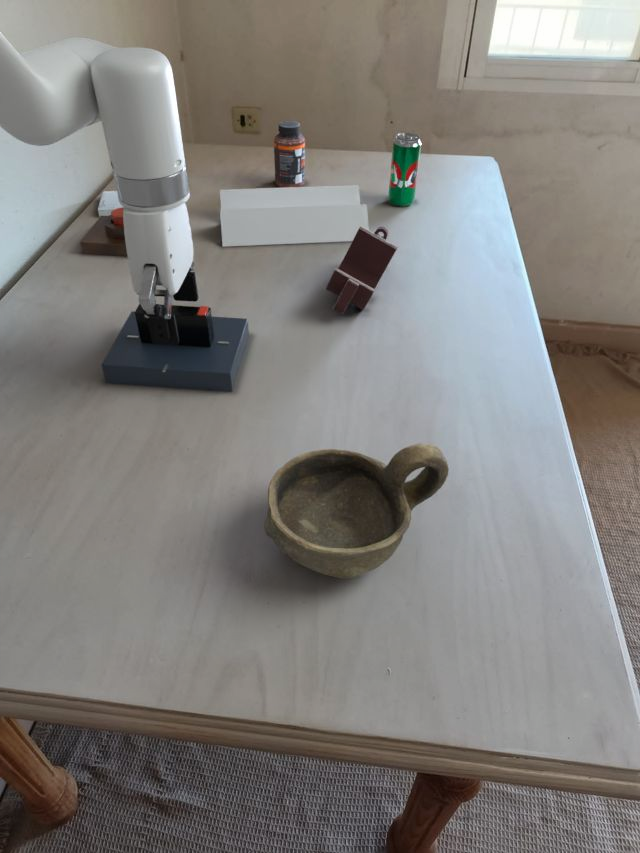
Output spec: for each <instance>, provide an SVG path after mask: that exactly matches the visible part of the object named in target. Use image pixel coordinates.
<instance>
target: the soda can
mask: <svg viewBox="0 0 640 853" xmlns="http://www.w3.org/2000/svg"><path fill="white" fill-rule="evenodd" d="M421 150H422V142H421V136H420V135H419V134H417V133H413V132H400V133H397V134H396V135H395V138H394V139H393V141H392V147H391V158H390V161H391V162H390V170H389V182H388V192H387V200H388V202H389V203H390V204H391V205H392V206H395V207H400V208H404V207H405V208H406V207H409V206H411V205H413V203H414V202H415V201H416V200H415V199H416V191H417V184H418V175H419V168H420V167H419V166H420V160H421V159H420V158H421Z"/></svg>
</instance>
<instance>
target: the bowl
mask: <svg viewBox="0 0 640 853" xmlns="http://www.w3.org/2000/svg"><path fill="white" fill-rule="evenodd" d="M422 468H423V469H422ZM418 469H422V470H421V471H420V472H419V473H418V474H417V475H416V476H415V477H414V478H413V479H411V480H407V478H408V477H409V476H410V475H411V474H412V473H414V472H415V471H417V470H418ZM448 476H449V464H448V461H447V459H446V457H445V456H444V454H443V452H442V450H441V449H440V448H439V447H437V446H436V445H435V444H432V443H422V442H421V443H415V444H411V445H409V446H407V447H404V448H402V449H400V450H399V451H398V452H396V453H395V454H394V455H393V456H392V457H391V458H390V460H389V462H388V463H387V464H386V463H384V462H382V461H380V460H379V459H375V458H374V457H371V456H368V455H365V454H362V453H361V452H358V451H352V450H347V449H337V448H324V449H318V450H312V451H307V452H304V453H302V454H298V455H297V456H294V457H293V458H291V459H290V460H288V461H287V462H286V463H285V464H284V465H283V466H281V467H280V468H279V469H277V470H276V472H275V473H274V474H273V476H272V477H271V480H270V482H269V485H268V489H267V504H268V508H267V514H266V518H265V522H264V533H265V534H266V536H267V537H268V538H269V539H270V540H272V542H273V543H274V544H275V545H276V547H277V548H278V549H280V550H281V552H282V553H284V554H285V555H286V556H287V557H288V558H290V559H291V560H292V561H293V562H296V563H298V564H299V565H301V566H303V567H305V568H307V569H309V570H311V571H314V572H316V573H319V574H321V575H326V576H330V577H334V578H338V579H342V580H343V579H344V580H353V579H357V578H360V577H362V576H364V575H365V574H367V573H368V572H371V571H373V570H375V569H376V568H377V569H378V568H379V567H380V566H382V565H383V564H384V563H386V562H387V561H388V560H389V559H390V558H391V557H392V556H393V555H394V553H395V552H396V551H397V549H398V547H399V546H400V545H401V542H402V540H403V538H404V534H405V533H406V532H407V531H408V529H409V527H410V524H411V521H412V511H413V510H414V508H415V507H417V506H418V505H420V504H422V503H424V502H425V501H426V500H428V499H429V498H431V497H433V496H434V495H435V494H436V493H437V492H438V491H439V490H441V488H442V487H443V486H444V484H445V482H446V480H447V478H448Z"/></svg>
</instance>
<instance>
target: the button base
mask: <svg viewBox="0 0 640 853" xmlns="http://www.w3.org/2000/svg"><path fill="white" fill-rule="evenodd" d="M79 244H80V247H81V252H82V254H83V255H89V256H107V257H125V258H128V255H127V249H126V242H125V234H124V226H117V225H114V224H113V221H112V216H111V215H109V216H102V215H101V216H100V217H99V218H98V219H97V220H96V221H95V222H94V224H93V225H92V226H91V228H90V229H89V230H88V231H87V233H86V234H85V235H84V236H83V237H82V239H81V240H80V241H79Z"/></svg>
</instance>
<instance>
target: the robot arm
mask: <svg viewBox="0 0 640 853" xmlns="http://www.w3.org/2000/svg"><path fill="white" fill-rule="evenodd" d="M179 114H180V113H179V108H178V100H177V94H176V87H175V80H174V74H173V67H172V65H171V63H170V61H169V58H167V56H166V55H165V54H164V53H162V52H161V51H159V50H157V49H153V48H149V47H139V46H130V47H127V46H126V47H118V46H114V45H111V44H108V43H105V42H102V41H98V40H95V39H92V38H88V37H81V36H73V37H67V38H63V39H60V40H58V41H55V42H51V43H48V44H44V45H42V46H38V47H36V48H32V49H30V50H27V51H24V52H22V53H19V51H18V50H17V49H16V48H15V47H14V46H13V45H12V44H11V43H10V41H9V40H8V39H7V38H6V36H4V34H3V33H2V32H1V31H0V128H2V130H4V131H5V133H7V134H9V135H10V136H12V137H13V138H15V139H16V140H18V141H20V142H22V143H24V144H26V145H27V144H28V145H32V146H35V147H45V146H50V145H54V144H55V143H58V142H60V141H62V140H64V139H66V138H67V137H70V136H72V135H73V134H75V133H77V132H78V131H81V130H82V129H84V128H86V127H88V126H92V125H94V124H97V123H99V122H101V125H102V130H103V134H104V138H105V139H104V140H105V144H106V147H107V153H108V157H109V162H110V166H111V170H112V176H113V181H114V184H115V189H116V190H115V191H117V195H118V199H119V203H120V204H121V206H123V207H124V209H123V220H124V234H125V242H126V249H127V255H128V257H127V261H128V267H129V272H130V278H131V284H132V288H133V291H134V293H135V294H136V295H138V303H139V304H140V305H141V307H142V308H143V309H142V311H143V313H144V314H145V318H147V321H148V326H149V330H150V335H151V340H152V343H154V344H160V345H178V343H179V335H178V330H177V324H176V319H175V314H171V311H172V305H173V300H174V301H176V302H193V303H194V302H197V301H198V300H199V292H198V291H199V290H198V284H197V277H196V272H195V271H194V270H195V261H194V242H193V234H192V228H191V223H190V218H189V212H188V207H187V202H188V201H189V199H190V197H191V194H190V193H191V192H190V187H189V180H188V173H187V166H186V160H185V151H184V145H183V139H182V138H183V137H182V136H183V135H182V130H181V123H180V115H179ZM157 286H163V287H164V289H157ZM156 297H162V298H163V297H164V299H163V300H164V301H163V305H164V307H162V306H161V305H160V303H157V300H156Z"/></svg>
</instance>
